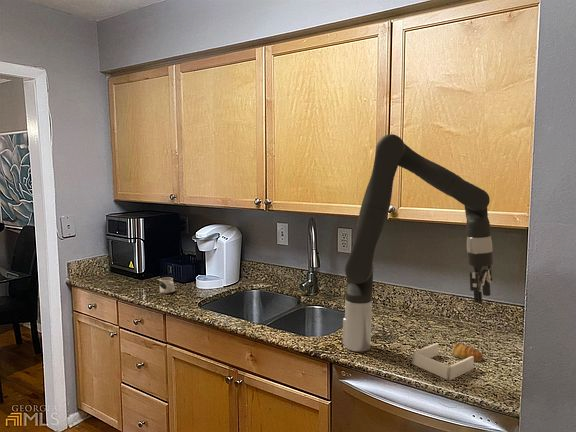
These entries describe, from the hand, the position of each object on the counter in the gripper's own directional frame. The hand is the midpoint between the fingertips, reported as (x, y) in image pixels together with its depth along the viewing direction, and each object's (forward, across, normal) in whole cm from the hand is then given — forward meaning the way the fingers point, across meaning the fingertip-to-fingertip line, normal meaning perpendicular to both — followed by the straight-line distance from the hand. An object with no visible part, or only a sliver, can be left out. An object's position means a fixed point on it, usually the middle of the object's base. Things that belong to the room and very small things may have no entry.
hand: (482, 299), depth 140 cm
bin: (+20, +13, -9) cm, 25 cm away
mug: (+7, +24, -147) cm, 149 cm away
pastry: (+21, 0, -7) cm, 22 cm away
